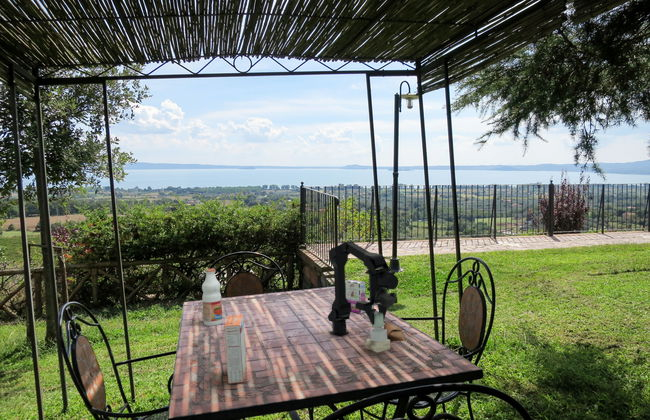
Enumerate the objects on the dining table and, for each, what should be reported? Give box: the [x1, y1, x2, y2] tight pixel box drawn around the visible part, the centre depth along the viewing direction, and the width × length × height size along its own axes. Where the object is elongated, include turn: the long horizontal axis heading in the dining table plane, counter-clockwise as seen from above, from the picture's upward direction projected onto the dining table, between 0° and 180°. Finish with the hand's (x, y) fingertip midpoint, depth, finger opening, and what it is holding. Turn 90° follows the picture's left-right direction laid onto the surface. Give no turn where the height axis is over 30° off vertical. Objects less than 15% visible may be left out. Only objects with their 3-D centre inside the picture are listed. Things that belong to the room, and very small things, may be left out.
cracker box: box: [223, 314, 248, 385], centre depth 174 cm, size 14×6×21 cm, turn 5°
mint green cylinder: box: [371, 311, 385, 328], centre depth 197 cm, size 5×5×5 cm
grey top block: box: [369, 327, 387, 342], centre depth 197 cm, size 5×5×4 cm
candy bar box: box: [345, 279, 367, 315], centre depth 255 cm, size 11×5×16 cm, turn 41°
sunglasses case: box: [383, 322, 407, 342], centre depth 214 cm, size 18×7×7 cm
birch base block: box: [365, 338, 391, 353], centre depth 197 cm, size 7×7×4 cm
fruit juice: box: [201, 267, 223, 327], centre depth 244 cm, size 9×9×28 cm
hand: (377, 323), depth 197 cm, fingers closed on mint green cylinder, 5 cm apart
